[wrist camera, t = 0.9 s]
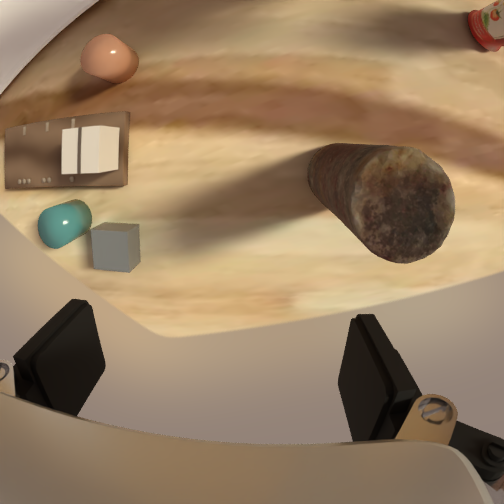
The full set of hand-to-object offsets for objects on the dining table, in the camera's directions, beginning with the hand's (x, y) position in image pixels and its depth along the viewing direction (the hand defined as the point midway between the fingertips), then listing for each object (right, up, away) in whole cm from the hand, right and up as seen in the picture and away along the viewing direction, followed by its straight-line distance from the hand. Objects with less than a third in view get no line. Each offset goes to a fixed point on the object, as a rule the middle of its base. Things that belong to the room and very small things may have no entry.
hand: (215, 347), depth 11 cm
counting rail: (-24, +17, +24) cm, 38 cm away
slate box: (-16, +5, +28) cm, 33 cm away
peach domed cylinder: (-15, +26, +21) cm, 37 cm away
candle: (+11, +12, +25) cm, 30 cm away
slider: (-17, +15, +23) cm, 32 cm away
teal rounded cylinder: (-22, +8, +27) cm, 36 cm away
